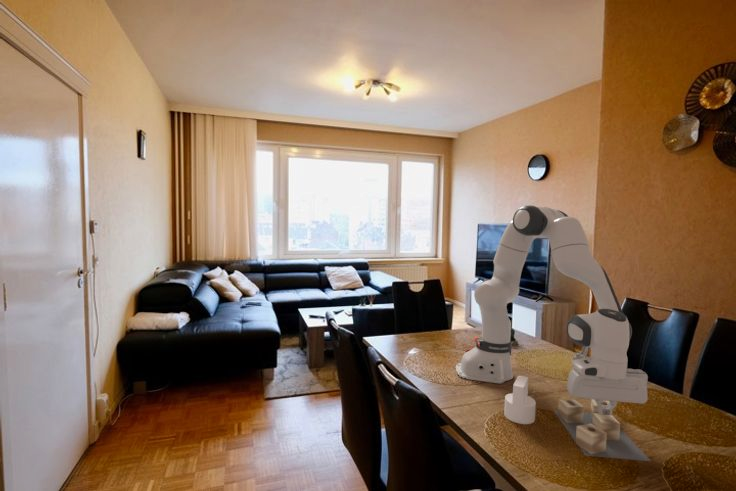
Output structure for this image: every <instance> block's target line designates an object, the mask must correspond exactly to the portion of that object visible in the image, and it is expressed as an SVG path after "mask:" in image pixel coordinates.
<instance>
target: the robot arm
mask: <svg viewBox="0 0 736 491" xmlns="http://www.w3.org/2000/svg"><path fill="white" fill-rule="evenodd" d="M536 239H542V240H548V241H549V245H550V250H551V251H550V252H551V256H552V262H553V263H554V267H555V268H556V270H558V271H559V272H560V273H561V274H563V275H564V276H566V277H569V278H571V279H575V280H577V281H579V282H581V283H583V284H584V285H586V286H587V287H588V288H589V289H590V290H591V292H592V294H593V296H594V299H595V302H596V303H597V307H598V309H597V310H595V312H592V313H591V312H590V313H582V314H581V313H580V314H575V315H572V316H571V317H570V318H569V320H568V321H567V325H566V333H567V336H568V338H569V340H570V341H571V342H572V343H573V344H574V345H576V346H579V347H582V348H583V347H588V348H589V349H590V350H591V352H590V355H589V356H586V357H583V358H581V359H576V360H573V359H572V361H571V366H572V369H571V370H569V373H568V377H567V384H566V390H567V392H568V394H569V395H570V396H571V397H572V398H574V399H584V400H585V399H586V400H591V399H594V400H595V402H596V403H597V405H598V412H599V414H602V415H612V416H613V413H612V410H614V409H615V407H617V405H618V402H619V403H633V404H643V405H645V403H646V402H648V385H647V383H648V379H649V376H648V374H647V373H646V372H645V371H643V370H642V369H633V368H628V361H629V360H628V359H629V358H628V356H627V352H628V350H629V345H630V340H631V338H632V334H633V328H632V325H631V323H630V322H629V320H628V317H627V315H625V313H624V311H623V309H622V308H621V307H622V306H621V305H620V302H619V300H618V298H617V294H616V292H615V291H614V288H613V285H612V283H611V281H610V280H611V279H610V278H609V276H608V273H607V272H606V270H605V269H604V268H603V267H602V265H600V264H599V263H598V261H596V259H595V257H594V256H593V253H592V251H591V250H590V244H589V242H588V238H587V235H586V233H585V230H584V228H583V226H582V224H581V222H580V220H579V219H577V218H575V217H573V216H569V215H568V214H566V213H565V212H563V211H561V210H558V209H554V208H551V207H546V206H544V207H543V206H535V205H523V206H521V207H518V208H517V210H516V211H515V212H514V214H513V217H512V220H510V221H509V222H508V224H507V226H506V228H505V230H504V231H503V233H502V236H501V238H500V240H499V244H498V246H497V249H496V251H495V255H494V257H493V261H492V262H493V274H492V276H491V278H490V279H487V280H483V282H481V283H480V284H478V286H477V287H475V290H474V293H473V294H474V295H473V296H474V297H473V298H474V300H475V302H476V304H477V305H478V306H479V310H480V317H481V337H479V336H474V337H473V341H474V342H475V347H473V348H471V349H470V350H468V351H466V352H465V353H464V354H463V355H462V357H461V362H459V363H457V364H456V365H455V368H456V370H455V373H456V372H457V373H456V375H457V374H458V375H459V376H458V375H457V376H458V377H460V378H461V377H462V378H461V379H464V378H466V380H472V381H479V382H485V383H486V382H487V383H492V384H493V383H494V384H500V385H501V384H503V383H504V382H507V381H510V380H512V379H513V378H514V374H513V373H514V372H513V369H512V362H511V361H512V360H511V355H512V351H513V350H512V346H513V345H512V344H511V341H510V337H511V328H512V321H511V320H510V318H509V313H508V308H507V306H508V304H510V303H512V302H513V301H515V299H516V298H517V297H518V295H519V294H520V284H521V283H520V282H521V276H522V272H523V268H524V265H525V263H526V260H527V258H528V256H529V252H530V248H531V245H532V243H533V241H534V240H536ZM603 400H605V401H609V404H608V405H607V407H605V406H602V405H601V403H603Z"/></svg>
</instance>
